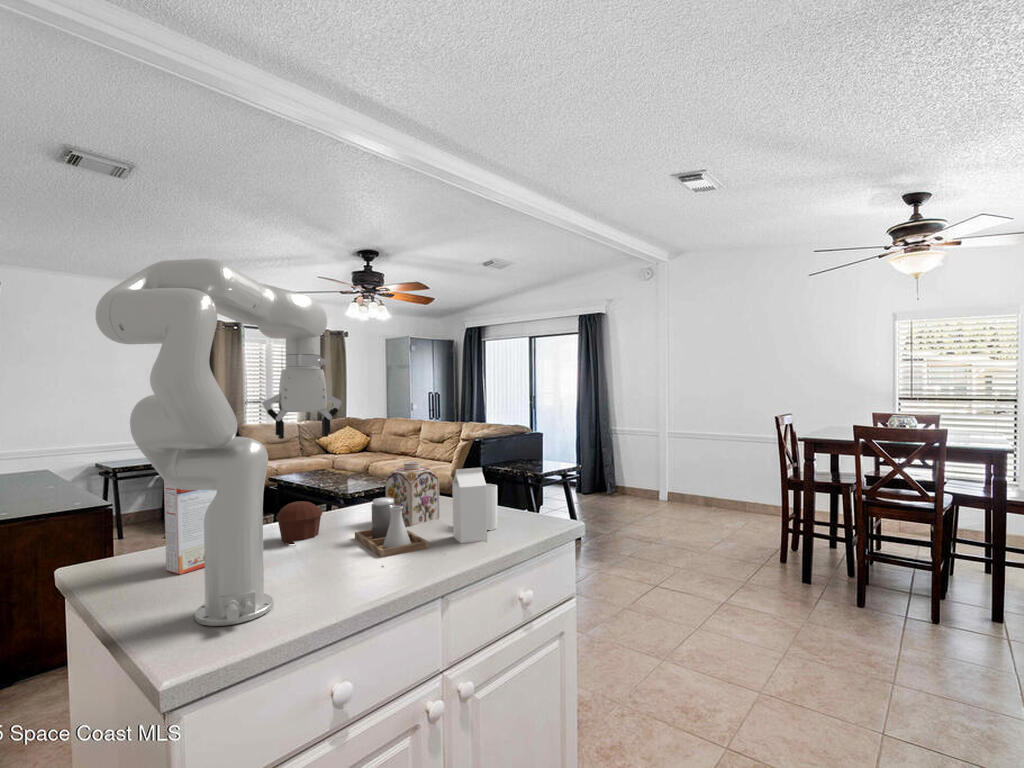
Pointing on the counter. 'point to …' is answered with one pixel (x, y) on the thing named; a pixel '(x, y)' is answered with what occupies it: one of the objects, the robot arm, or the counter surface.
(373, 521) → the pepper shaker
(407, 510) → the decorative jar
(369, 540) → the caddy
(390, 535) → the flask
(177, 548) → the cracker box
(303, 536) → the muffin
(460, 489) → the milk carton
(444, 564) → the counter surface
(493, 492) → the mug
